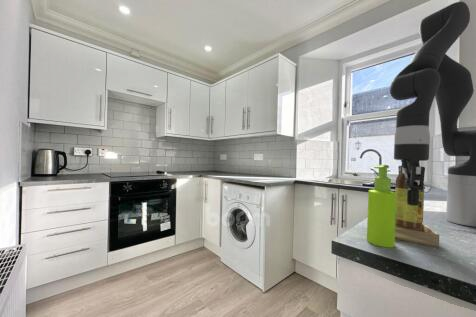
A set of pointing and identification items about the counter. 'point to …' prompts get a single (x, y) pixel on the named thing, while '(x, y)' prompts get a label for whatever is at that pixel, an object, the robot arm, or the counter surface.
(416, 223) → the sauce bottle
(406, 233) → the wooden stand
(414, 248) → the counter surface
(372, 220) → the soap dispenser
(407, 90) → the robot arm
